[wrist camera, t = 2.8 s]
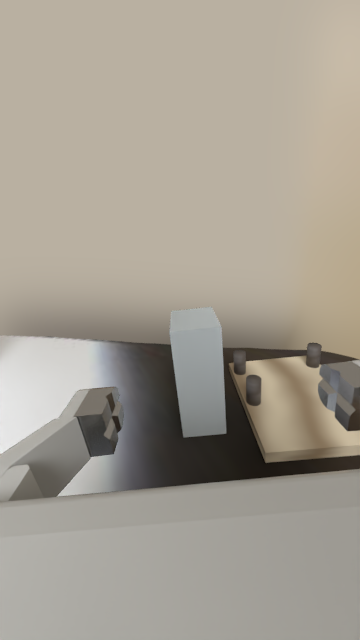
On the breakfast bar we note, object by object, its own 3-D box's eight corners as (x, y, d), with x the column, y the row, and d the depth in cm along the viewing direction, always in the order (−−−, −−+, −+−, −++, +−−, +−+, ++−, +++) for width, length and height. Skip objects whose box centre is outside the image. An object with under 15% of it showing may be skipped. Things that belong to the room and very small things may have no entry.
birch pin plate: (265, 462, 20) (266, 426, 18) (229, 370, 34) (228, 345, 33) (403, 451, 20) (415, 413, 18) (309, 362, 34) (311, 337, 32)
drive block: (183, 437, 23) (169, 332, 19) (182, 398, 29) (171, 311, 25) (226, 433, 23) (221, 326, 19) (216, 395, 29) (211, 306, 25)
